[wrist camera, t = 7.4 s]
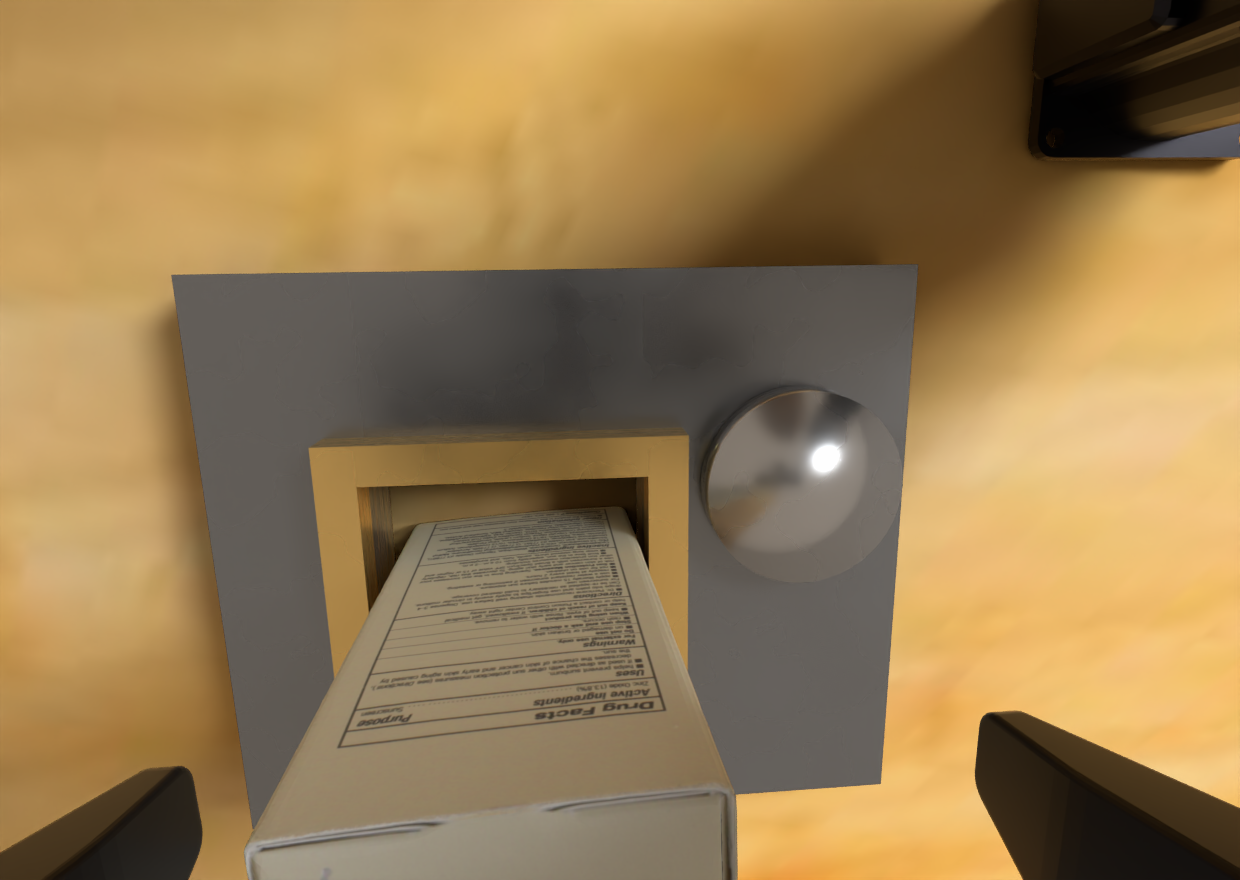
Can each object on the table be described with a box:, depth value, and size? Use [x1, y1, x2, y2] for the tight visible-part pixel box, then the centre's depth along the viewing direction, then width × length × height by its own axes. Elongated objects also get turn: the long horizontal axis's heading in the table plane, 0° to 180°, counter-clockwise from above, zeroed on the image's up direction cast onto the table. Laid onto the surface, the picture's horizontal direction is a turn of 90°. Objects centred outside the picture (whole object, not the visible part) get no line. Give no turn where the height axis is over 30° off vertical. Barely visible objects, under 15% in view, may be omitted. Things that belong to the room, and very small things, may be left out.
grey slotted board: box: [172, 264, 918, 829], centre depth 19 cm, size 18×15×3 cm
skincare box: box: [244, 507, 738, 880], centre depth 15 cm, size 6×4×12 cm
